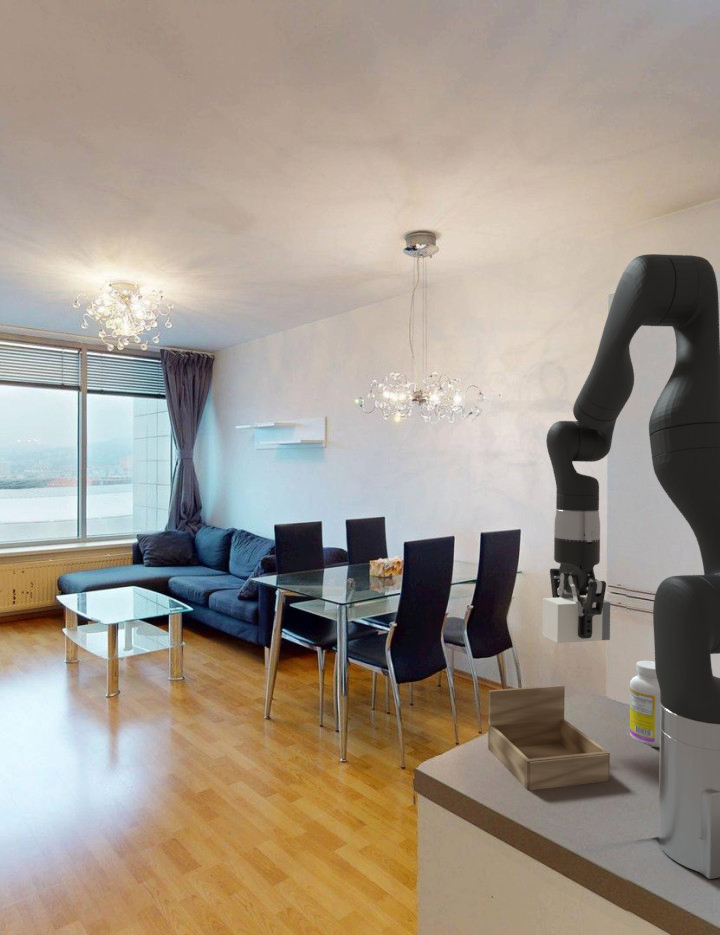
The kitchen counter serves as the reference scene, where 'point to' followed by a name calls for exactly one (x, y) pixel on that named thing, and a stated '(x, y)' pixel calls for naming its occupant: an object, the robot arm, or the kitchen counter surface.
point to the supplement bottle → (645, 704)
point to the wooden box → (542, 739)
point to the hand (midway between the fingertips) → (575, 632)
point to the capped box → (572, 621)
